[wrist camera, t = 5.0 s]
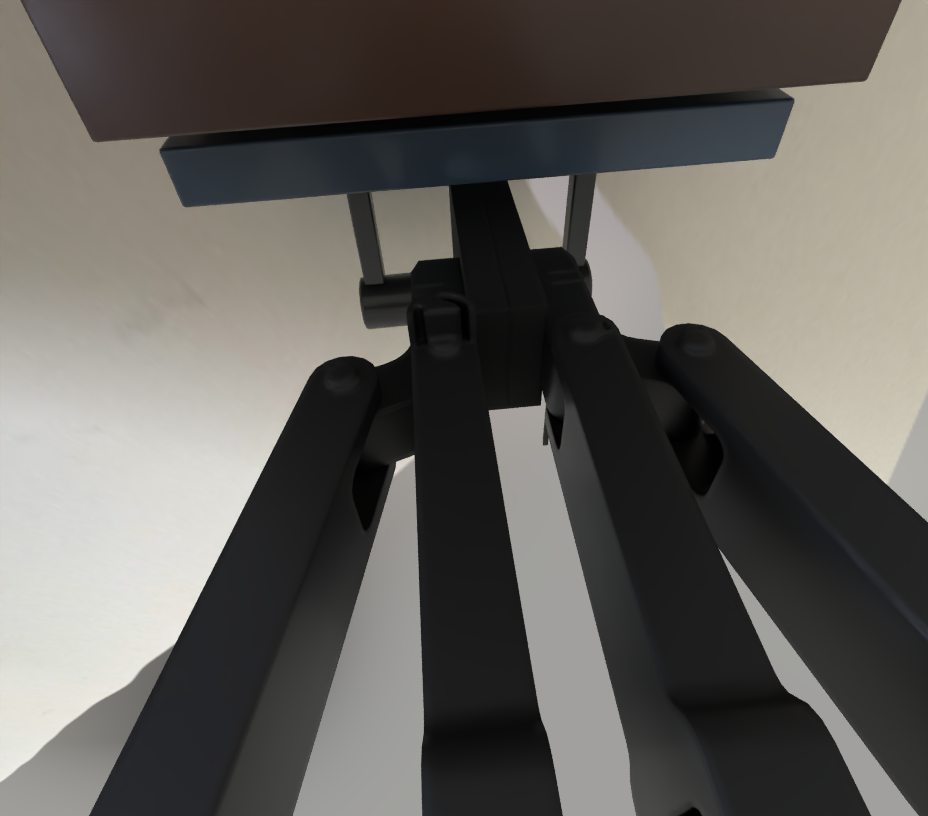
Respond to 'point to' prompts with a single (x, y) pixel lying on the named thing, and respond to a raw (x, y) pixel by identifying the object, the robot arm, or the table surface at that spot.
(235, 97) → the cabinet
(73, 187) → the table surface
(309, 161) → the drawer
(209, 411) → the table surface
